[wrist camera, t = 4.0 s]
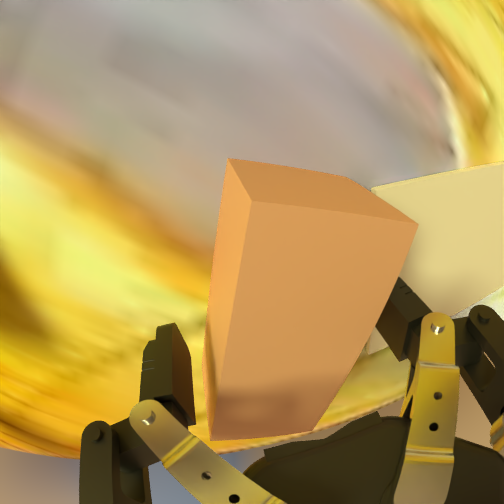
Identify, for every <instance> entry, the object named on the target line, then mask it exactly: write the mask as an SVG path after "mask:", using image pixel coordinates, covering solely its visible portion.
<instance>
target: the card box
mask: <svg viewBox="0 0 504 504" xmlns="http://www.w3.org/2000/svg"><path fill="white" fill-rule="evenodd" d="M418 226H419V224H418V223H416V222H415V221H413V220H412V219H411V218H409V217H408V216H406V215H405V214H403V213H402V212H400V211H399V210H397V209H396V208H395V207H393V206H392V205H390V204H389V203H387V202H386V201H384V200H382V199H381V198H379V197H378V196H376V195H375V194H373V193H372V192H370V191H368V190H367V189H365V188H364V187H362V186H360V185H359V184H357V183H356V182H354V181H352V180H351V179H349V178H347V177H343V176H338V175H333V174H328V173H322V172H317V171H311V170H306V169H300V168H294V167H288V166H281V165H275V164H268V163H261V162H254V161H246V160H238V159H230V158H228V159H227V165H226V172H225V178H224V185H223V192H222V199H221V206H220V213H219V220H218V227H217V235H216V242H215V250H214V258H213V266H212V274H211V283H210V291H209V300H208V309H207V318H206V328H205V338H204V348H203V358H202V372H203V382H204V391H205V401H206V409H207V418H208V426H209V434H210V441H219V440H238V439H252V438H262V437H272V436H280V435H288V434H295V433H301V432H307V431H312V430H313V429H314V427H315V426H316V424H317V423H318V421H319V420H320V419H321V417H322V416H323V414H324V413H325V411H326V410H327V408H328V406H329V405H330V403H331V402H332V400H333V399H334V397H335V396H336V394H337V392H338V391H339V389H340V388H341V386H342V384H343V383H344V381H345V379H346V378H347V376H348V374H349V373H350V371H351V369H352V367H353V366H354V364H355V362H356V360H357V359H358V357H359V355H360V353H361V351H362V350H363V348H364V346H365V344H366V342H367V340H368V338H369V337H370V335H371V333H372V331H373V329H374V327H375V325H376V323H377V321H378V319H379V317H380V315H381V313H382V311H383V309H384V307H385V305H386V303H387V300H388V298H389V296H390V294H391V292H392V290H393V287H394V285H395V283H396V281H397V278H398V276H399V274H400V271H401V269H402V267H403V264H404V262H405V259H406V257H407V254H408V252H409V249H410V247H411V244H412V242H413V239H414V236H415V234H416V231H417V228H418Z"/></svg>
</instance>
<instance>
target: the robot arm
mask: <svg viewBox="0 0 504 504" xmlns="http://www.w3.org/2000/svg"><path fill="white" fill-rule="evenodd" d="M375 327H376V329H377V330H378V332H379V333H380V334H381V336H382V337H383V339H384V340H385V342H386V343H387V345H388V346H389V347H390V349H391V350H392V352H393V353H394V355H395V356H396V358H397V359H398V361H399V362H400V361H402V360H404V359H407V358H408V359H409V360H410V366H409V373H408V379H407V385H406V391H405V396H404V402H403V405H402V409H401V412H400V416H399V417H398V416H386V417H380V415H379V413H378V412H377V411H376V412H374V413H372V414H369V415H367V416H364V417H362V418H359V419H357V420H355V421H352V422H350V423H349V424H347V425H346V426H344V427H343V428H341V429H340V430H338V431H337V432H335V433H334V434H332V435H331V436H329V437H327V438H325V439H320V440H311V441H297V442H290V443H287V444H283V445H280V446H276V447H272V448H268V449H264V454H265V456H264V457H262V458H261V459H259V460H257V461H256V462H254V463H253V464H252V465H250V466H249V467H248V468H247V469H246V470H245V471H244V472H243V474H242V473H241V472H239V471H238V470H237V469H235V468H234V467H233V466H231V465H230V464H229V463H228V462H226V461H225V460H224V459H223V458H221V457H220V456H219V455H218V454H216V453H215V452H214V451H213V450H212V449H210V448H209V447H208V446H207V445H206V444H205V443H203V442H202V441H201V440H200V439H199V438H197V437H196V436H194V435H193V434H192V433H190V432H189V431H188V426H191V425H196V419H195V407H194V395H193V381H192V365H191V356H190V352H189V349H188V347H187V345H186V343H185V341H184V339H183V337H182V335H181V333H180V331H179V329H178V327H177V325H176V324H175V323H171V324H166V325H162V326H158V327H157V330H156V340H152V341H149V342H148V344H147V346H146V347H145V349H144V351H143V363H142V372H141V385H140V399H139V403H138V404H136V405H135V406H134V407H133V409H132V410H131V412H130V416H129V417H128V418H127V419H125V420H122V421H120V422H118V423H115V424H113V425H111V426H109V425H108V424H107V423H106V422H104V421H94V422H92V423H90V424H89V425H88V426H87V427H86V428H85V429H84V431H83V433H82V439H81V454H80V478H79V504H152V499H151V491H150V482H149V471H148V466H149V465H151V464H154V463H156V462H159V461H162V464H163V466H164V467H165V468H166V469H167V470H168V471H169V472H170V474H172V476H173V477H174V478H175V479H176V480H177V481H178V482H179V483H180V484H182V486H184V487H185V489H187V490H188V491H189V492H190V493H191V494H192V495H193V496H194V497H195V498H196V499H197V500H198V501H199V502H201V503H202V504H504V321H503V320H502V319H501V318H500V316H499V315H498V314H497V313H496V312H495V311H494V310H493V309H492V308H490V307H488V306H485V305H477V306H474V307H473V308H472V309H471V310H470V313H469V316H468V317H462V318H457V319H451V318H450V317H449V316H448V315H446V314H444V313H440V312H432V310H431V309H430V308H429V307H428V306H427V305H426V304H425V303H424V302H423V301H422V300H421V299H420V297H419V296H418V295H417V294H416V293H415V292H413V290H412V289H411V288H410V287H409V286H407V284H406V283H405V282H404V281H403V280H402V279H401V278H400V277H399V276H398V278H397V281H396V283H395V285H394V287H393V290H392V292H391V294H390V296H389V298H388V300H387V303H386V305H385V307H384V309H383V311H382V313H381V315H380V317H379V319H378V321H377V323H376V325H375ZM484 352H485V353H486V354H487V355H488V357H489V358H490V360H491V361H492V362H493V364H494V365H495V368H494V367H493V365H492V364H491V362H490V361H489V360H488V358H487V357H486V356H485V354H484ZM460 374H461V376H462V378H463V379H464V381H465V382H466V384H467V385H468V387H469V389H470V390H471V392H472V393H473V395H474V396H475V398H476V400H477V401H478V403H479V405H480V406H481V408H482V410H483V411H484V413H485V415H486V416H487V418H488V420H489V422H490V423H491V425H492V427H491V430H490V437H491V439H490V444H491V446H493V449H491V448H488V447H484V446H482V445H479V444H475V443H472V442H470V441H466V440H464V439H461V438H457V437H455V432H456V423H457V412H458V399H459V377H460Z"/></svg>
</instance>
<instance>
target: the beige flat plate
mask: <svg viewBox="0 0 504 504" xmlns="http://www.w3.org/2000/svg"><path fill="white" fill-rule="evenodd" d="M371 192H372V193H373V194H375V195H376V196H378V197H379V198H381V199H382V200H384V201H386V202H387V203H389V204H390V205H392V206H393V207H395V208H396V209H397V210H399V211H400V212H402V213H403V214H405V215H406V216H408V217H409V218H411V219H412V220H413V221H415V222H416V223H418V224H419V226H418V228H417V231H416V234H415V236H414V239H413V242H412V244H411V247H410V249H409V252H408V254H407V257H406V259H405V262H404V264H403V267H402V269H401V271H400V274H399V277H400V278H401V279H402V280H403V281H404V282H405V283H406V284H407V286H409V287H410V288H411V289H412V290H413V292H415V293H416V294H417V295H418V296H419V297H420V299H421V300H422V301H423V302H424V303H425V304H426V305H427V306H428V307H429V308H430V309H431V310H432V312H440V313H444V314H446V315H448V316H449V317H451V316H453V315H455V314H456V313H458V312H460V311H462V310H464V309H466V308H467V307H469V306H471V305H473V304H474V303H476V302H478V301H479V300H481V299H483V298H484V297H486V296H488V295H489V294H491V293H493V292H494V291H496V290H497V289H499V288H501V287H502V286H504V161H501V162H496V163H490V164H485V165H479V166H474V167H469V168H463V169H458V170H453V171H448V172H443V173H438V174H433V175H428V176H423V177H419V178H414V179H409V180H405V181H400V182H395V183H391V184H386V185H382V186H377V187H373V188H371ZM386 347H389V346H388V345H387V343H386V342H385V340H384V339H383V337H382V336H381V334H380V333H379V332H378V330H377V329H376V327H374V329H373V331H372V333H371V335H370V337H369V338H368V340H367V344H366V352H367V354H368V355H369V354H372V353H374V352H377V351H379V350H381V349H384V348H386Z"/></svg>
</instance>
